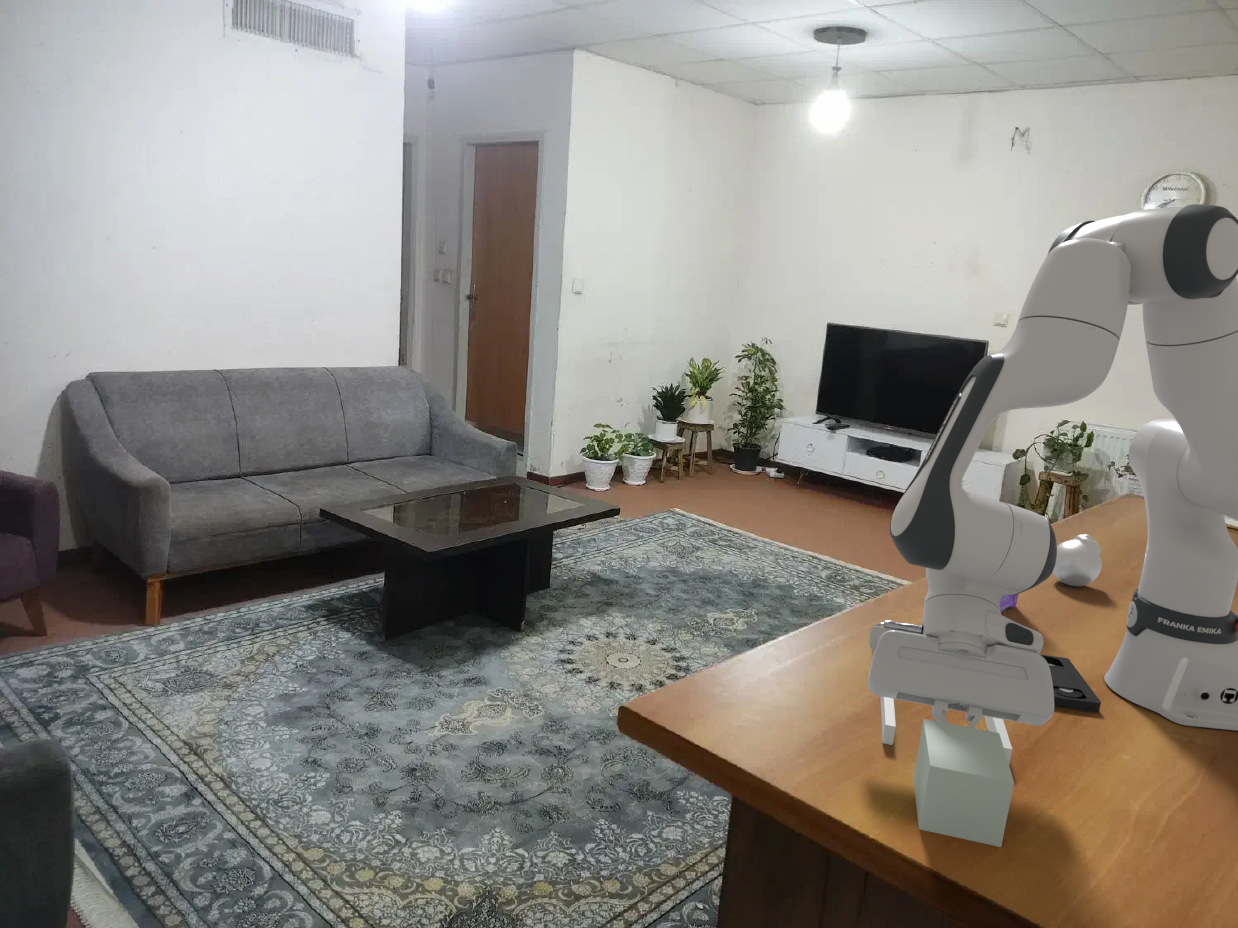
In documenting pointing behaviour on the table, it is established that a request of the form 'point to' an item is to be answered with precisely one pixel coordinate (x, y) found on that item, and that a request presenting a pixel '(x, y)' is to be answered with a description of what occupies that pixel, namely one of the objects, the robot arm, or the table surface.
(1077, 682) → the vhs tape
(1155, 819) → the table surface
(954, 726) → the sage block
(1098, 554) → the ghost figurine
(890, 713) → the channel
